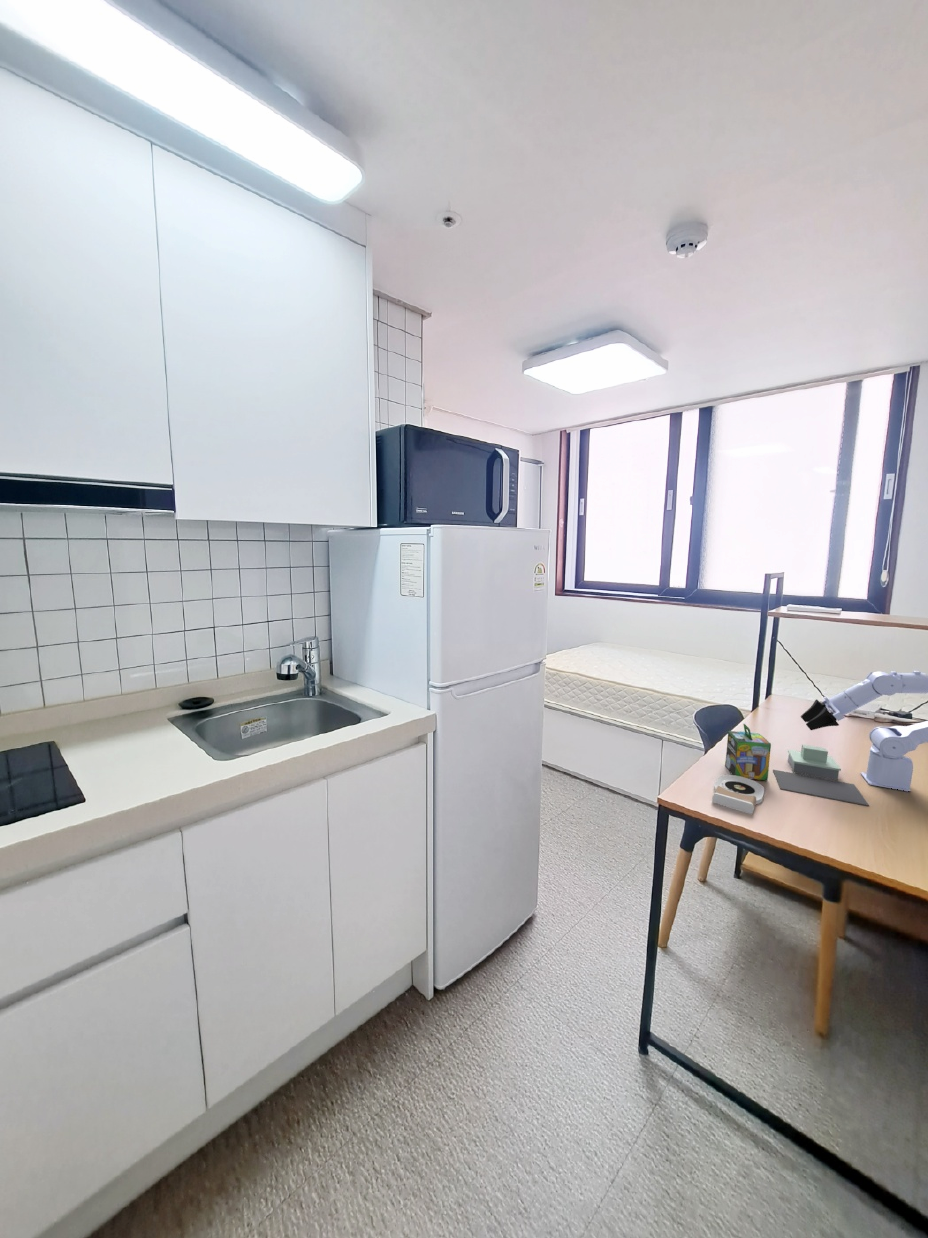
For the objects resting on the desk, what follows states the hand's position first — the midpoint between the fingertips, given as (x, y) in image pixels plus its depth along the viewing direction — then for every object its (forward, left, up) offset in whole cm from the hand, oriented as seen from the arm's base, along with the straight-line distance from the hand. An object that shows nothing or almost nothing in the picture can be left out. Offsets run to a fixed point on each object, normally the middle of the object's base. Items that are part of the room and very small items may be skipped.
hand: (805, 723), depth 148 cm
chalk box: (+16, +12, -15) cm, 25 cm away
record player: (+19, +27, -15) cm, 37 cm away
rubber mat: (-2, +13, -15) cm, 19 cm away
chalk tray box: (-3, 0, -15) cm, 15 cm away
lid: (-3, 0, -12) cm, 13 cm away
